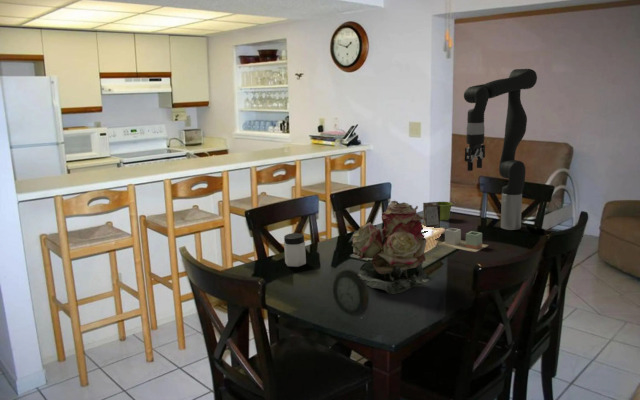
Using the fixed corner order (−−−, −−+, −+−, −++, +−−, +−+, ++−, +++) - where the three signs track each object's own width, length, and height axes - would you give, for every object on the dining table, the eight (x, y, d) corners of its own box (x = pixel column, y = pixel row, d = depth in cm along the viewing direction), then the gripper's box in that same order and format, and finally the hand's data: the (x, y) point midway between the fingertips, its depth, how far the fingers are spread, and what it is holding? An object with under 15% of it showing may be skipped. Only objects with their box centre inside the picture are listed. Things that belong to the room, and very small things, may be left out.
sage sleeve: (471, 244, 228) (471, 231, 227) (481, 246, 224) (482, 232, 223) (465, 247, 224) (465, 233, 223) (476, 249, 221) (476, 235, 220)
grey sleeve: (450, 240, 235) (450, 227, 233) (460, 242, 231) (460, 229, 230) (444, 243, 231) (444, 230, 230) (455, 245, 228) (455, 231, 226)
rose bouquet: (344, 276, 200) (342, 199, 194) (411, 264, 210) (410, 191, 204) (376, 300, 177) (374, 214, 170) (448, 285, 187) (449, 203, 181)
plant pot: (441, 216, 282) (441, 200, 280) (455, 219, 275) (456, 203, 273) (430, 219, 276) (430, 203, 275) (444, 222, 269) (445, 206, 267)
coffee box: (440, 240, 240) (440, 205, 237) (426, 240, 240) (426, 206, 237) (436, 234, 249) (436, 201, 245) (422, 235, 249) (422, 202, 246)
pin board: (451, 240, 238) (451, 227, 237) (488, 247, 226) (489, 233, 225) (437, 247, 230) (437, 233, 229) (475, 254, 218) (475, 240, 216)
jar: (283, 261, 220) (281, 234, 217) (302, 259, 222) (300, 231, 220) (288, 268, 212) (286, 239, 209) (307, 265, 214) (306, 237, 211)
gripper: (475, 131, 238) (474, 166, 241) (459, 134, 228) (459, 170, 231) (491, 131, 233) (490, 167, 236) (475, 134, 223) (474, 172, 226)
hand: (474, 169), depth 234 cm, fingers open, 8 cm apart
